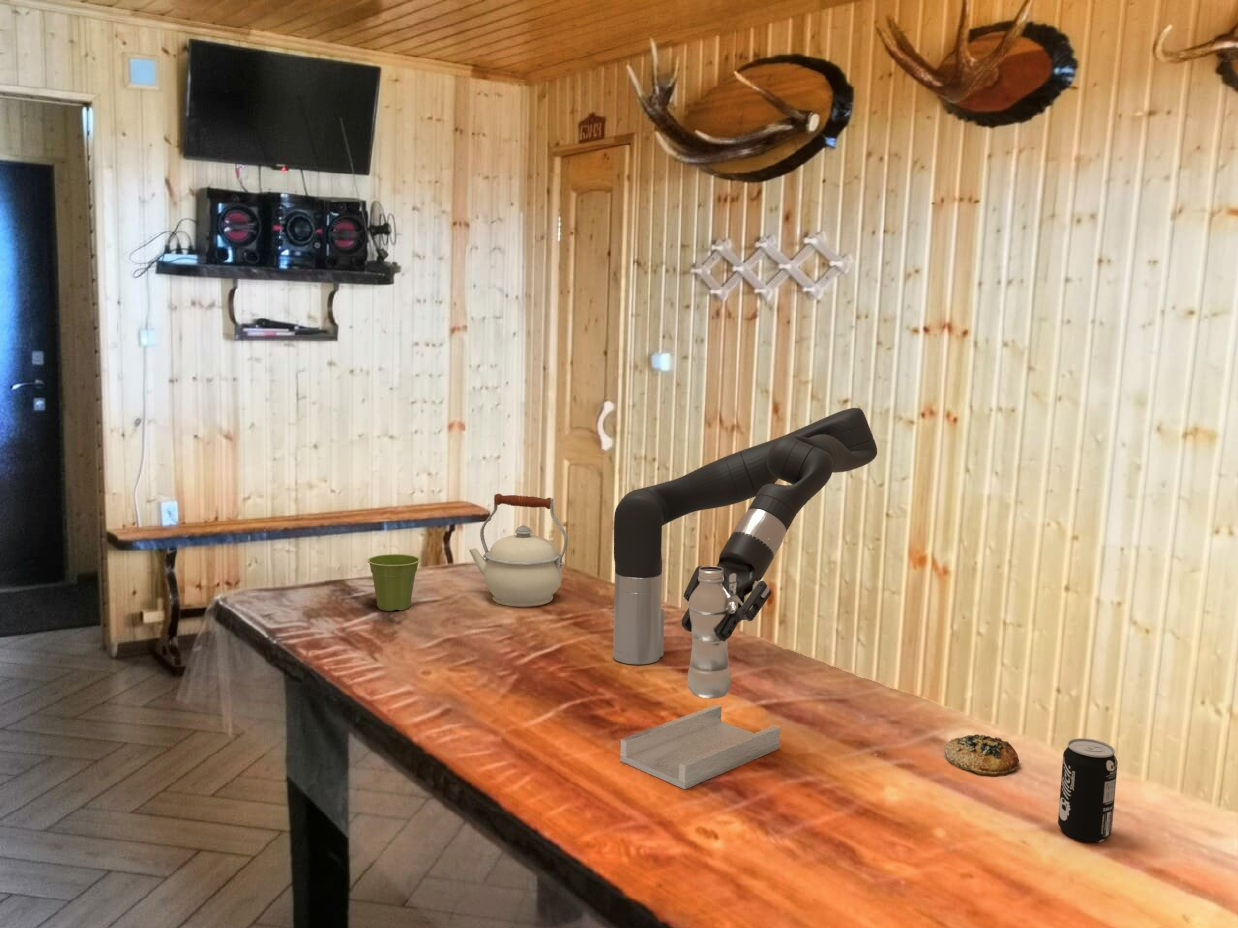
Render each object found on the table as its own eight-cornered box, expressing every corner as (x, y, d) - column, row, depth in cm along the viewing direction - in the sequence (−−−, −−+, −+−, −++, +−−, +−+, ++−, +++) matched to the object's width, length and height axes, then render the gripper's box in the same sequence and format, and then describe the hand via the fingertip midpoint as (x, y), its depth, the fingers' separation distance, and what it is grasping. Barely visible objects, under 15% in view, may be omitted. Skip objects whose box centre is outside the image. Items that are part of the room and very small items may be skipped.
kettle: (579, 594, 259) (581, 493, 256) (550, 614, 242) (551, 505, 238) (486, 584, 267) (486, 485, 264) (451, 602, 250) (451, 497, 246)
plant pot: (415, 615, 239) (414, 565, 237) (362, 614, 239) (361, 564, 238) (425, 601, 251) (425, 554, 249) (374, 600, 251) (374, 552, 249)
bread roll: (1022, 754, 168) (1022, 725, 167) (1014, 791, 159) (1015, 760, 157) (948, 744, 173) (948, 715, 172) (937, 779, 163) (937, 749, 162)
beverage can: (1048, 821, 146) (1054, 737, 144) (1094, 820, 146) (1101, 736, 145) (1072, 845, 139) (1079, 757, 138) (1121, 843, 140) (1128, 756, 138)
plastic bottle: (728, 705, 161) (732, 575, 158) (683, 701, 162) (686, 572, 159) (732, 690, 167) (736, 564, 164) (689, 686, 168) (691, 562, 165)
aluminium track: (715, 724, 178) (716, 704, 178) (779, 748, 169) (780, 727, 168) (620, 761, 163) (620, 738, 162) (684, 789, 153) (685, 766, 153)
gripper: (800, 566, 165) (750, 657, 159) (728, 550, 176) (678, 636, 169) (780, 537, 161) (728, 630, 154) (707, 523, 171) (655, 609, 165)
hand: (702, 632), depth 162 cm, fingers closed on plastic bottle, 6 cm apart
